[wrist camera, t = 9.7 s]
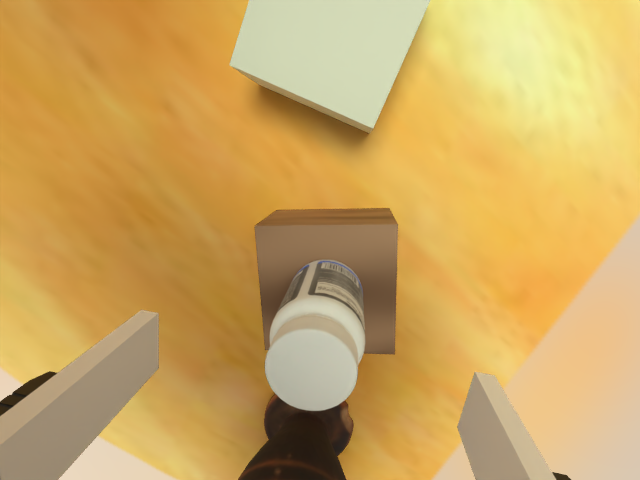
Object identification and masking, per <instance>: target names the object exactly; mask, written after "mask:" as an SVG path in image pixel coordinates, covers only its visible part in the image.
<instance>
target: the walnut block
mask: <svg viewBox="0 0 640 480" xmlns="http://www.w3.org/2000/svg"><path fill="white" fill-rule="evenodd" d="M255 236H256V248H257V259H258V271H259V283H260V294H261V306H262V317H263V329H264V341H265V350H269V347H270V329H271V325H272V322H273V319H274V317H275V315H276V313H277V311H278V309H279V307H280V305H281V303H282V301H283V299H284V297H285V295H286V293H287V291H288V289H289V287H290V285H291V282H292V280H293V278H294V277H295V275H296V274H297V273H298V271H299V270H300V269H301V268H302V267H304V266H305V265H307V264H309V263H311V262H313V261H317V260H335V261H338V262H341V263H343V264H345V265H346V266H348V267H349V268H350V269H352V270H353V272H354V273H355V274H356V275H357V277H358V279H359V280H360V283H361V286H362V290H363V303H364V323H365V340H366V343H365V349H364V353H370V354H395V321H396V280H397V238H398V224H397V222H396V220H395V218H394V216H393V214H392V212H391V211H390V209H389V208H372V209H310V210H276V211H275V212H273V213H272V214H270V215H269V216H268V217H266V218H265V219H264V220H262V221H261V222H259V223H258V224H257V225H255Z"/></svg>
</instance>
